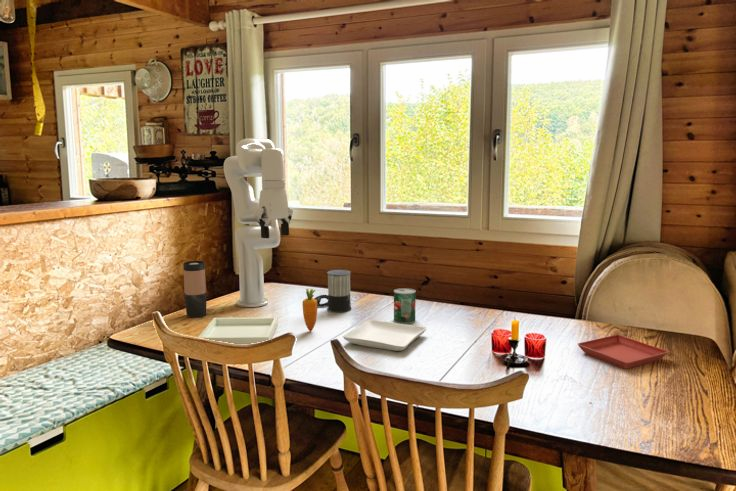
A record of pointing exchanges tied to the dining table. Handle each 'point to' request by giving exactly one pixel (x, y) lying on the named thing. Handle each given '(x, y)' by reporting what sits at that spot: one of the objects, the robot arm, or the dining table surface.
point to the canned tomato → (404, 305)
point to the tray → (241, 329)
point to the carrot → (310, 310)
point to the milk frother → (337, 291)
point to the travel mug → (195, 288)
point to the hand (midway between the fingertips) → (275, 236)
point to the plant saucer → (622, 351)
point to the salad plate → (384, 335)
